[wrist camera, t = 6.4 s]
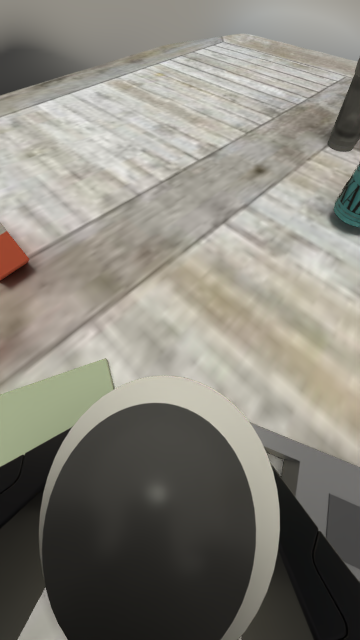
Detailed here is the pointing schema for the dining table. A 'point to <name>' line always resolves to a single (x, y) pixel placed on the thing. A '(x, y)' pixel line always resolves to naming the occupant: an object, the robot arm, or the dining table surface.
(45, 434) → the rubber mat
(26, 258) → the french fries container
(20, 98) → the dining table surface
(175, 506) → the shaker
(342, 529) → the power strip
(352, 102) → the beverage cup
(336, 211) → the beverage bottle
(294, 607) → the robot arm
